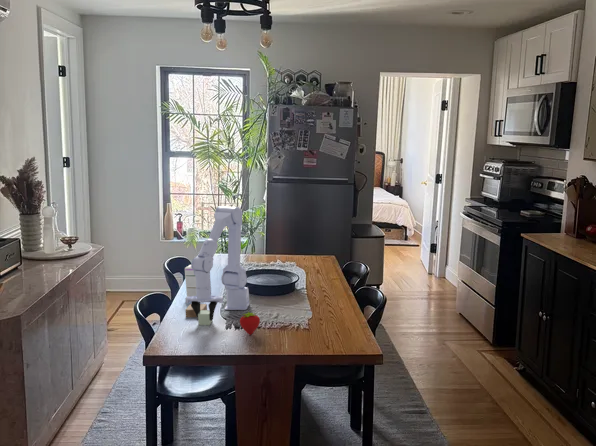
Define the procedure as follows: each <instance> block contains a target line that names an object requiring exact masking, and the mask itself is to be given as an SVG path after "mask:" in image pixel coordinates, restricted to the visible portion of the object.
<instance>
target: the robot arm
mask: <svg viewBox="0 0 596 446" xmlns="http://www.w3.org/2000/svg"><path fill="white" fill-rule="evenodd" d="M213 214H214V223H213V225H212V228H211V231H210V234H209V237H208V238H207V239H205V240H204V241H203V243H202V245H201V248H200V250H199V252H198V254H197V256H195V257H194V258H193V259H192V261H191V264H190V265H191V267H192V269H193V271H194V275H195V279H196V295H197V296H187V295H186V297H185V298H184V300H185V303H186V304H187V303H190V304H191V307H192V308H193V310H194V311H195V314H196V316H197V317H196V320H198V313H199V312H200V304H201V303H208V305H207V307H208V310H209V311H210V321H212V322H213V320H214V314H215V310H216V307H217V305H218V303H219V304H222V303H223V301H224V297H223V296H218V295H212V287H211V286H212V285H211V283H212V282H211V271H212V268H213V267H214V256H215V254H216V252H217V249H218V247H219V245H218V241H219V239H220V237H221V235H222V233H223V232H224V229H225V228H226V227H227V228H228V233H227V234H228V235H227V236H228V237H227V238H228V239H227V240H228V241H227V265H226V266H224V268H223V269H222V275H221V279H220V281H221V283H222V285H223V286H224V288H225V292H226V293H225V295H226V306H225V307H224V310H225V311H227V310H228V311H237V310H238V311H246V310H247V309H248V308H249V306H250V292H249V291H250V290H249V286H247V287H246V284H247V282H248V281H247V280H248V277H247V274H246V273H247V271H246V269H245V267H244V266H242V265H241V249H242V248H241V245H242V226H243V210H242V209H241V208H240V207H239V206H223V205H219V206H217V207H216V208H215V211H214V213H213Z"/></svg>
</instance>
